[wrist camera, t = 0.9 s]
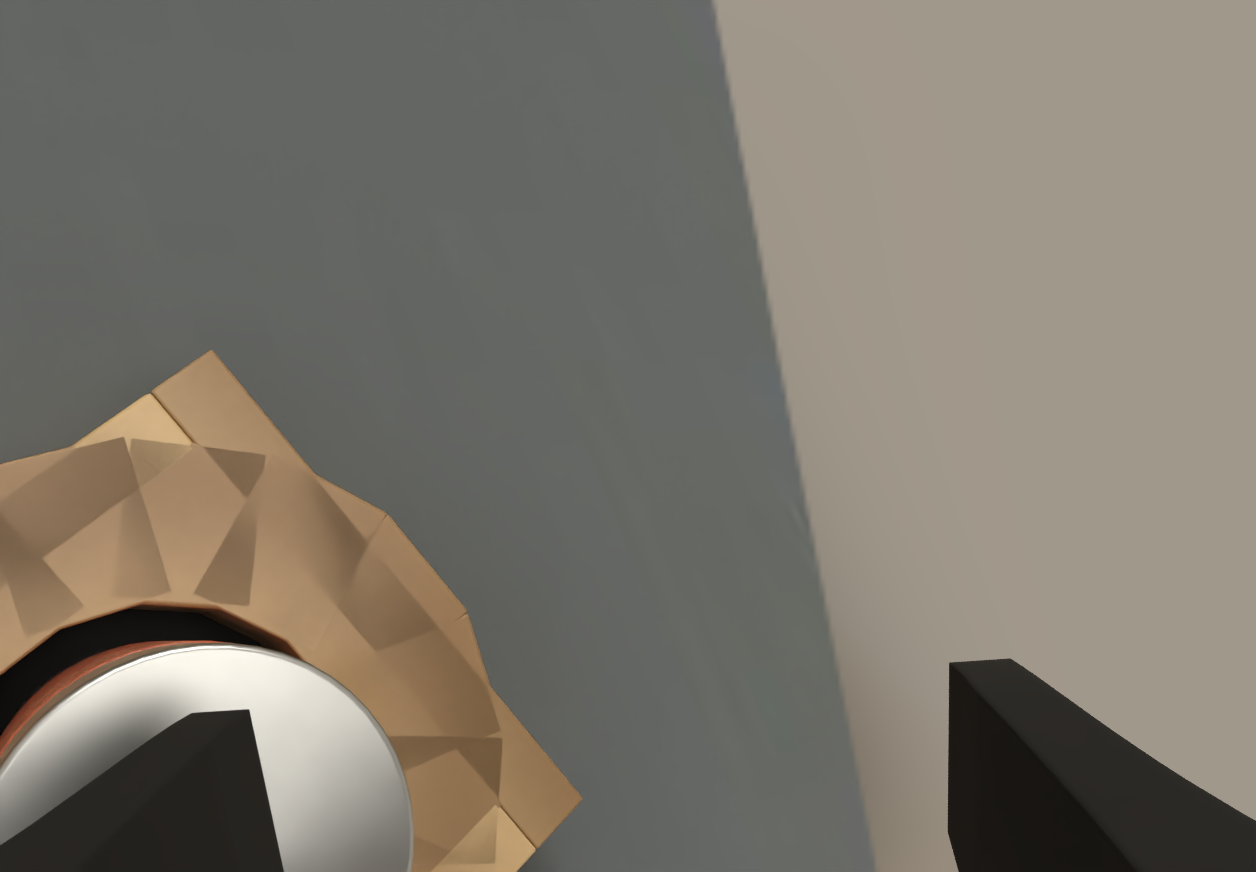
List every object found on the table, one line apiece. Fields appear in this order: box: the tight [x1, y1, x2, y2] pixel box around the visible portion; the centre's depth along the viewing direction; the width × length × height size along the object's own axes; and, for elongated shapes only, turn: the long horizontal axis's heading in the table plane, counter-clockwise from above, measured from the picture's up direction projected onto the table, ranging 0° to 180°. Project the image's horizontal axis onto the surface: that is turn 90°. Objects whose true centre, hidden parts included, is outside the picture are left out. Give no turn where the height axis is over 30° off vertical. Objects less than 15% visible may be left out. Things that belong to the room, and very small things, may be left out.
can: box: [0, 641, 414, 872], centre depth 18 cm, size 5×5×9 cm
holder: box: [0, 350, 582, 872], centre depth 21 cm, size 12×12×3 cm
